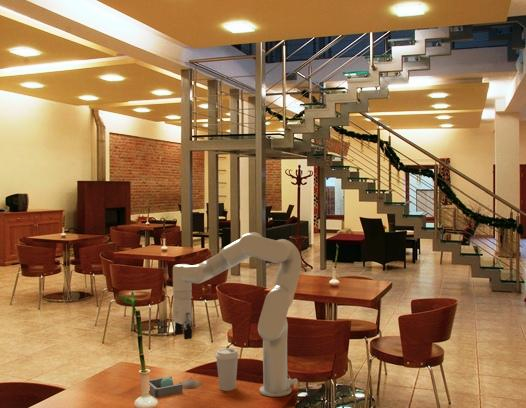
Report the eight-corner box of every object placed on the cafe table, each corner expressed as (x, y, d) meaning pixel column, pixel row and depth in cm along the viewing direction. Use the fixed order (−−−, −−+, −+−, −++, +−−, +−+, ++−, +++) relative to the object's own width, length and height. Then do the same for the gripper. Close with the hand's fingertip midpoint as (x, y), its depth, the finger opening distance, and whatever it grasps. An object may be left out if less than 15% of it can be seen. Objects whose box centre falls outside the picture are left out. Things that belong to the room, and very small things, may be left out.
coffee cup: (238, 392, 213) (238, 353, 213) (214, 392, 213) (214, 354, 213) (239, 384, 223) (239, 347, 223) (216, 384, 223) (216, 348, 223)
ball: (170, 373, 220) (171, 385, 221) (158, 376, 218) (159, 388, 218) (174, 378, 216) (175, 390, 216) (162, 381, 213) (163, 393, 214)
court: (171, 383, 225) (170, 376, 225) (182, 391, 214) (182, 384, 214) (145, 388, 219) (145, 380, 219) (155, 397, 209) (155, 389, 209)
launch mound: (199, 405, 232) (198, 372, 232) (213, 416, 220) (213, 381, 220) (168, 412, 225) (167, 378, 225) (181, 423, 213) (180, 387, 213)
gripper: (166, 292, 227) (166, 333, 227) (182, 298, 212) (182, 342, 212) (182, 291, 231) (183, 331, 231) (199, 296, 216) (200, 339, 216)
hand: (183, 336), depth 221 cm, fingers open, 9 cm apart
